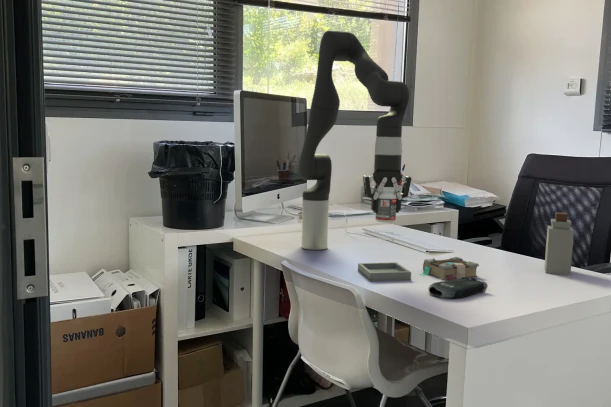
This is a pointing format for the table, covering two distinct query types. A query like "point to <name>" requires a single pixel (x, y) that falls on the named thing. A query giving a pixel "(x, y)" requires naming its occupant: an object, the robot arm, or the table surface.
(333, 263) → the table surface
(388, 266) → the tray
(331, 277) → the table surface
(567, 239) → the perfume bottle
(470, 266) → the cardboard box
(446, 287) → the electronic device
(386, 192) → the pill bottle
